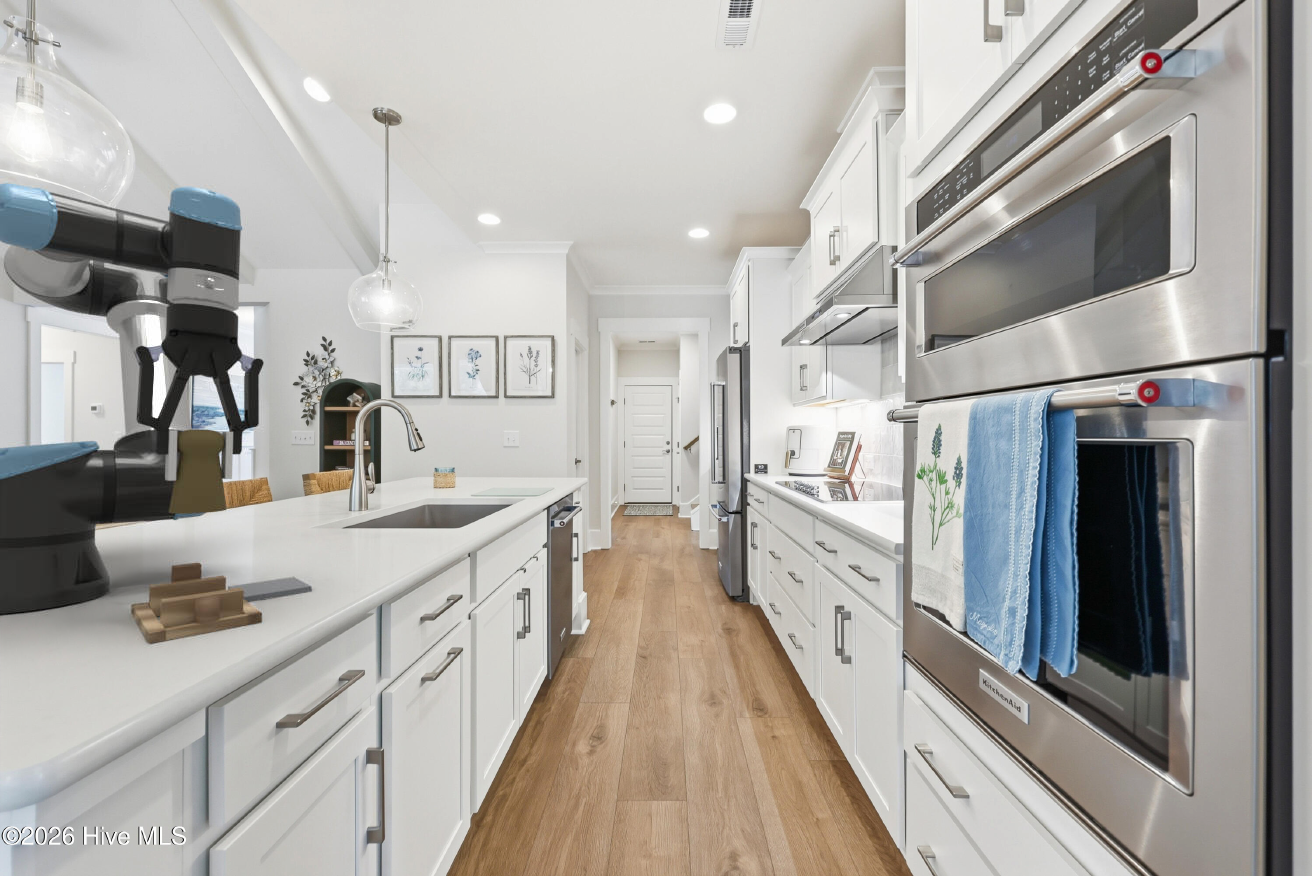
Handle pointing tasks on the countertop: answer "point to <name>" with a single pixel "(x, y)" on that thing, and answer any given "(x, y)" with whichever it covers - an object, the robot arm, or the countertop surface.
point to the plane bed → (192, 606)
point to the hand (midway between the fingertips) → (199, 478)
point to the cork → (198, 473)
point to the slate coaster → (272, 588)
